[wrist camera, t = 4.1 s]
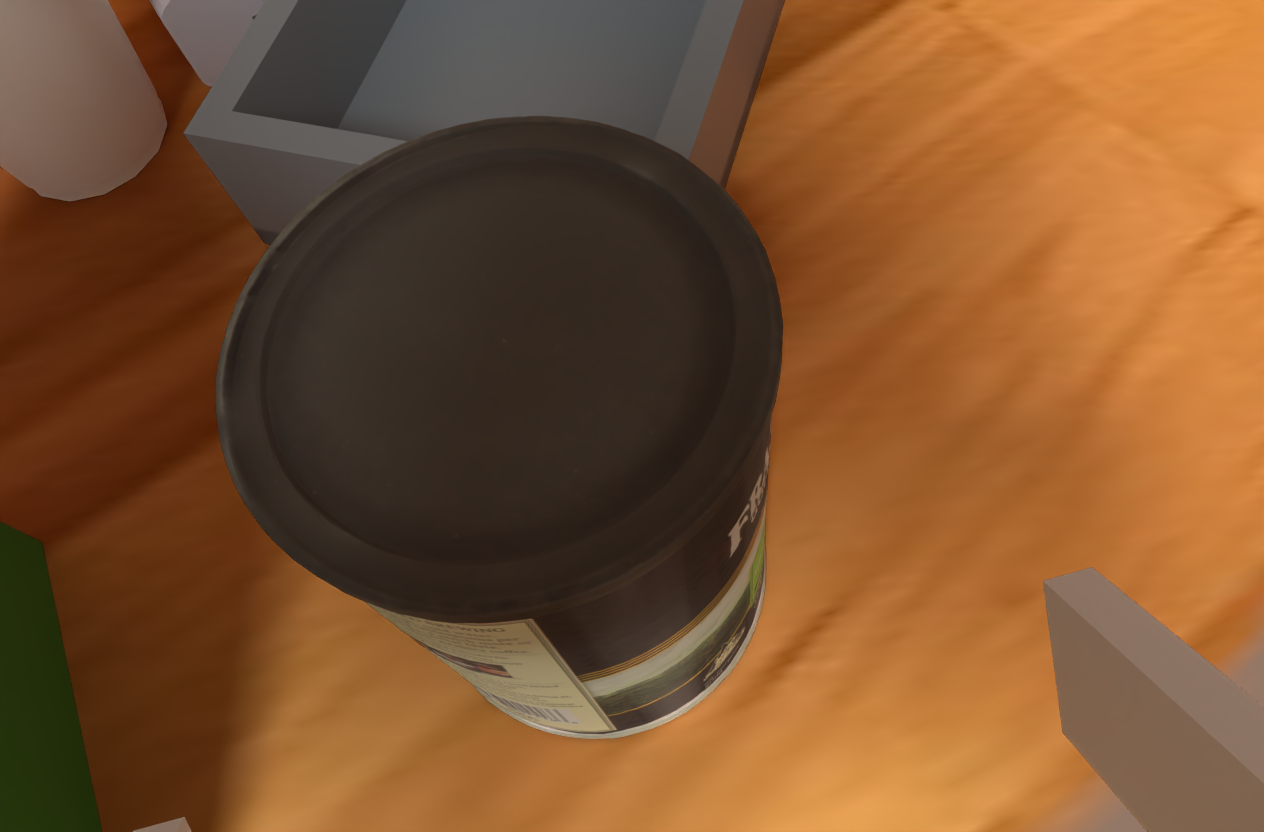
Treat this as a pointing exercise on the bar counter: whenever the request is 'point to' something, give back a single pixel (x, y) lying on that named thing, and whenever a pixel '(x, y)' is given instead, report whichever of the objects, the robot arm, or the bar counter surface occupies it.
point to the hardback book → (37, 703)
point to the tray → (469, 83)
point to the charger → (207, 30)
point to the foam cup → (73, 99)
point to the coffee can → (521, 412)
